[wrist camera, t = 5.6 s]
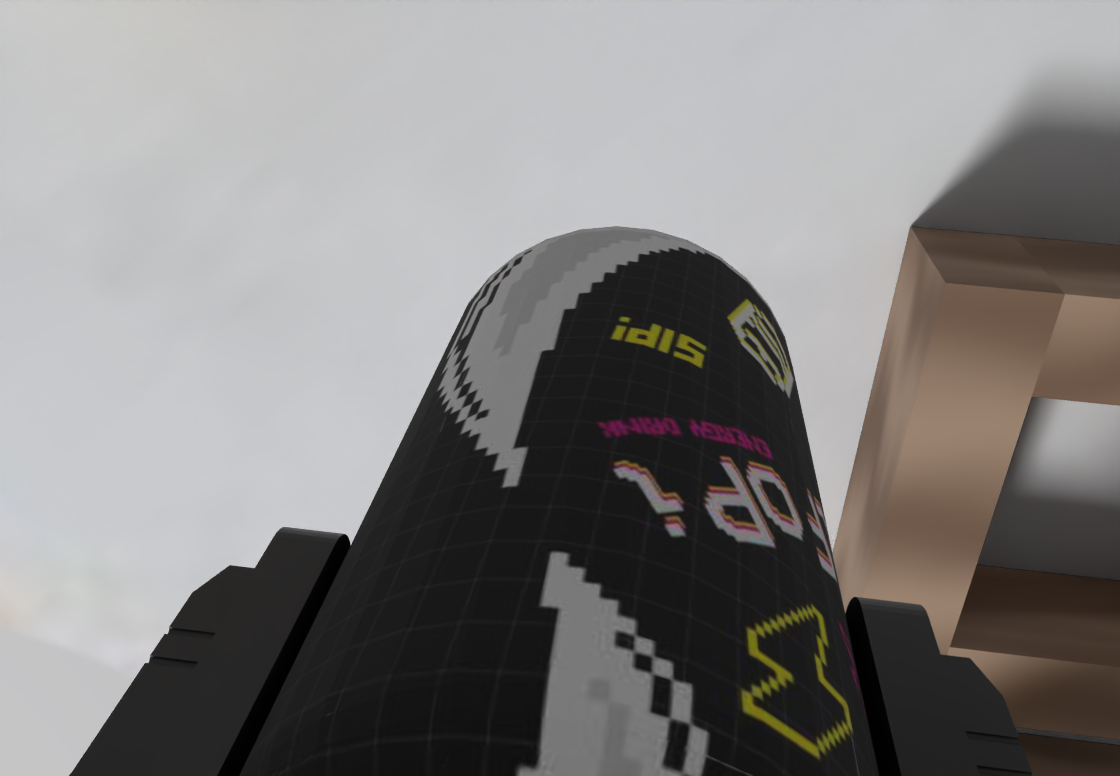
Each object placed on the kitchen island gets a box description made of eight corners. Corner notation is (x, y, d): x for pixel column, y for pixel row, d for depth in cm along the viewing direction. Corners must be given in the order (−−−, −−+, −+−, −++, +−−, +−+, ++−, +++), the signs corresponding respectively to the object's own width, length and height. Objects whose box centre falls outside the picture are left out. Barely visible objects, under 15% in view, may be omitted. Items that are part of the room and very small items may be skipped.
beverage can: (859, 374, 17) (1159, 1258, 6) (621, 556, 19) (543, 1419, 8) (618, 136, 15) (473, 756, 5) (393, 364, 18) (-42, 1118, 7)
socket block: (910, 226, 29) (945, 283, 25) (1440, 274, 28) (1563, 341, 24) (818, 613, 36) (834, 704, 32) (1239, 663, 35) (1309, 763, 31)
